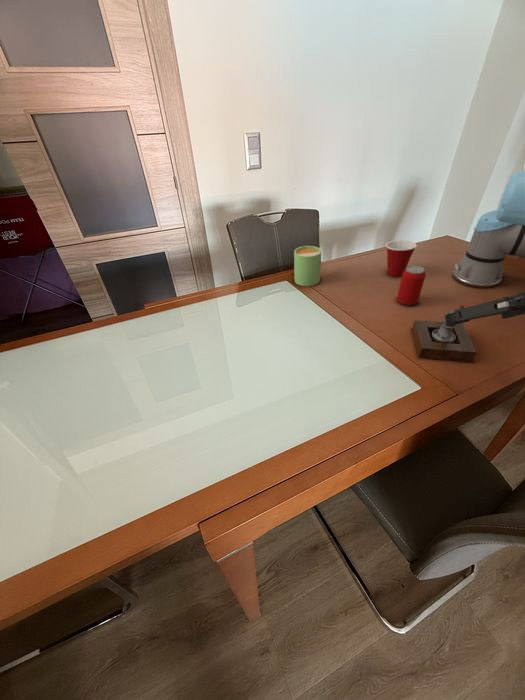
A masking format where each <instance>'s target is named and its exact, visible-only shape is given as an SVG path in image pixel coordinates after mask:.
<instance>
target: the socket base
mask: <svg viewBox="0 0 525 700" xmlns="http://www.w3.org/2000/svg"><path fill="white" fill-rule="evenodd" d="M441 322H442V321H434V320H433V321H432V320H431V321H429V320H416V319H415V320H414V321H413V324H412V328H411V331H412V336H413V341H414V345H415V348H416V352H417V357H418V358H419V359H431V360H443V361H444V360H445V361H453V362H463V363H464V362H465V363H473V360H474V358H475V356H476V354H477V349H476V348H475V347H474V344H473V341H472V339H471V337H470V335H469V332H468V330H467V328H466V326H465V324H464V323H460V324H456V327H455V328H453V331H452V333H454V334H455V336H456V339H455V341H453V342H452V343H438V342H432V338H433V337H432V336H433V335H432V332H433V331H434V330H437V329H440V327H441ZM431 337H432V338H431Z"/></svg>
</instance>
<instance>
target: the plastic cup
mask: <svg viewBox="0 0 525 700" xmlns="http://www.w3.org/2000/svg"><path fill="white" fill-rule="evenodd" d="M417 247H418V245H417V242H415V241H411V240H401V239H400V240H392V241H389V242H386V243H385V248H386V255H387V257H386V266H387V268H386V269H387V270H386V272H387V275H388V276H390V277H394V278H399V277H402V275H403V272H404V271H405V269H406V268H407V267H408V266H409V262H410V260H411V257H412V255H413V254H414V251H415V249H416V248H417Z"/></svg>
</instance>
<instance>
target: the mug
mask: <svg viewBox="0 0 525 700" xmlns="http://www.w3.org/2000/svg"><path fill="white" fill-rule="evenodd" d="M293 261H294V262H293V263H294V265H293V269H294V270H293V274H294V275H293V276H294V283H295V284H296V285H297V286H302V287H313V286H316V285H317V284H319V283H320V282H321V270H322V268H321V266H322V261H323V260H322V249H321V248H320V247H318V246H314V245H303V246H299V247H296V248H295V249H294V252H293Z"/></svg>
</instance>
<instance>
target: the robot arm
mask: <svg viewBox="0 0 525 700" xmlns="http://www.w3.org/2000/svg"><path fill="white" fill-rule="evenodd" d="M508 255H509V256H515V257H521V258H522V257H523V258H525V162H524V163H523V167H522V171H521V170H520V171H518V172H514V173H513V174H512V175H511V176H510V177H509V179H508V181H507V182H506V185H505V188H504V190H503V193H502V195H501V198H500V200H499V204H498V206H497V209H495V210H491V211H488V212H485V213H483V214H482V215H480V217H479V218H478V220H477V223H476V225H475V226H474V228H473V234H472V236H471V238H470V241H469V243H468V246H467V249H466V252H465V254H464V256H463V258H462V259H461V260H460V261H459V262H458V263H455V265H454V269H453V271H452V274H451V276H452V278H453V280H454V281H456V282H457V283H459V284H461V285H464V286H466V287H472V288H477V289H478V288H479V289H491V288H494V287H496V286H498V285H500V284H501V281H502V280H504V279H505V278H506V276H505V275H503V266H504V260H505V258H506V256H508ZM454 310H455V312H453V313H450V314H447V315H446V314H445V315H444V318H446V324H447V326H452V325H456V324H460V323H463V324H464V323H468V322H471V321H472V320H476V319H477V320H478V319H482V318H487V317H492V316H497V315H501V320H502V319H503V320H505V319H510V318H514V317H518V316H523V315H525V291H522V292H518V293H516V294H514V295H510V296H503V297H501V298H498V299H494V300H491V301H486V302H482V303H479V304H475V305H471V306H467V307H465V306H464V305H460V306H459V308H456V309H454Z"/></svg>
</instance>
